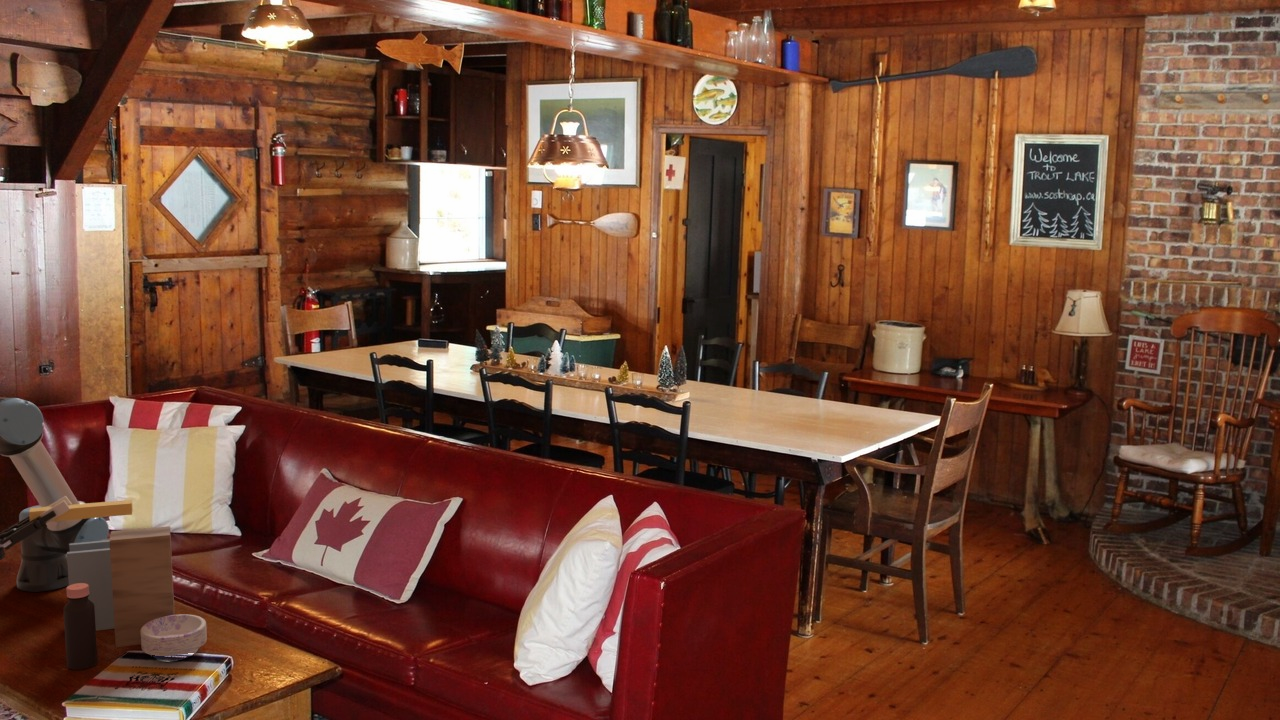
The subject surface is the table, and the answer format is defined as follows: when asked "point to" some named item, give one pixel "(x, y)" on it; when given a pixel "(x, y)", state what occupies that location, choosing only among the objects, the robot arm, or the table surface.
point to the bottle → (80, 628)
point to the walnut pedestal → (140, 580)
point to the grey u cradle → (94, 577)
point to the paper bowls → (173, 635)
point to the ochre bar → (88, 510)
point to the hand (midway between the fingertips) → (67, 502)
